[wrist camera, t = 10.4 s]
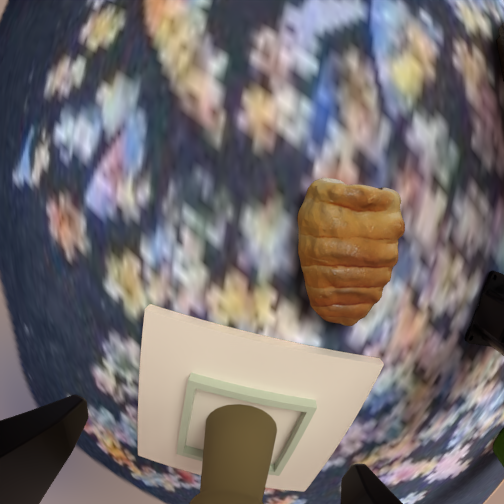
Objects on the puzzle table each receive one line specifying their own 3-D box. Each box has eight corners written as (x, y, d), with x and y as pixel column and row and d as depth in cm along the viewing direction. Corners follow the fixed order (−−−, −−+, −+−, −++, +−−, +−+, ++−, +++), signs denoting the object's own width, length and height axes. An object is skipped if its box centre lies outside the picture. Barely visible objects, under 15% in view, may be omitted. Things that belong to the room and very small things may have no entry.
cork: (235, 457, 22) (219, 555, 11) (190, 420, 22) (154, 524, 11) (291, 434, 21) (295, 544, 10) (247, 393, 21) (230, 515, 10)
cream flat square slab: (380, 358, 20) (388, 371, 18) (304, 484, 24) (305, 498, 22) (150, 304, 21) (139, 314, 19) (141, 449, 24) (134, 461, 22)
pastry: (378, 316, 20) (396, 339, 16) (288, 313, 20) (290, 338, 17) (394, 186, 18) (419, 186, 14) (298, 176, 19) (304, 172, 15)
